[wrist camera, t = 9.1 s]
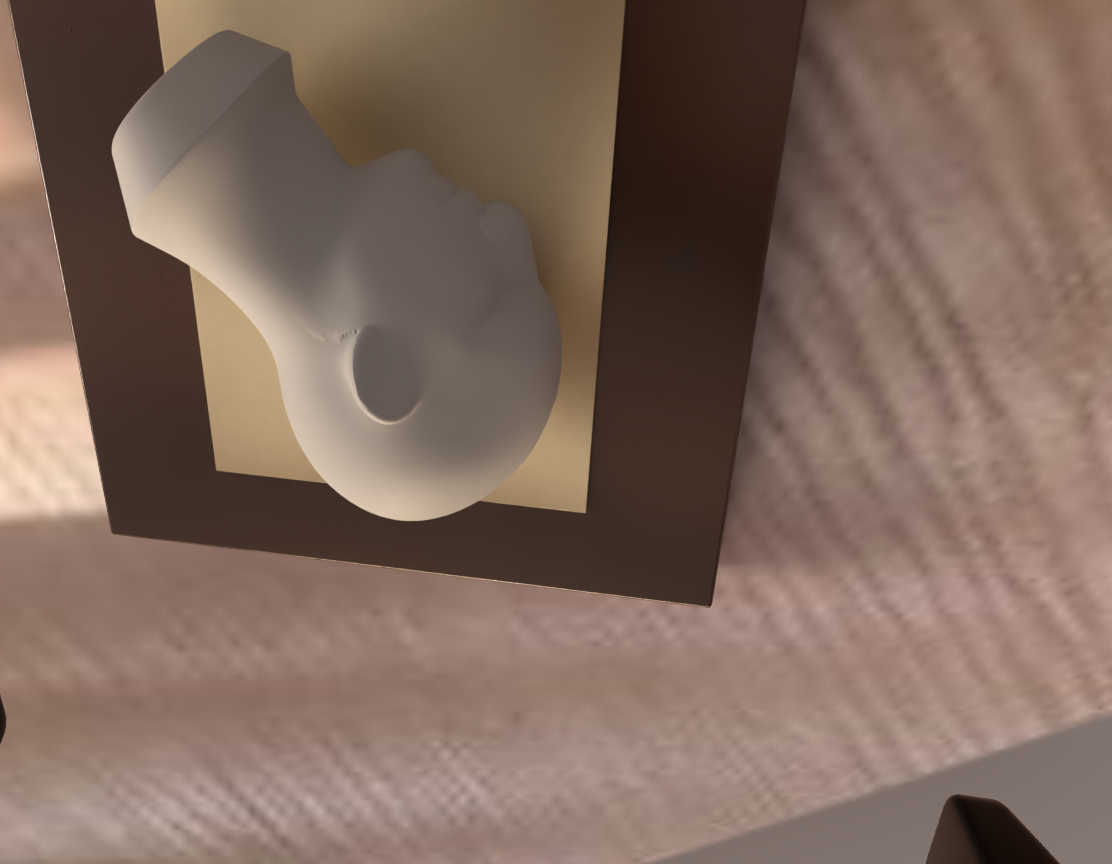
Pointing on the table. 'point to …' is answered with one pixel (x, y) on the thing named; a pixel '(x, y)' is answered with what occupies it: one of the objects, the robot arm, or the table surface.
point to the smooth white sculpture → (350, 281)
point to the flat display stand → (493, 175)
